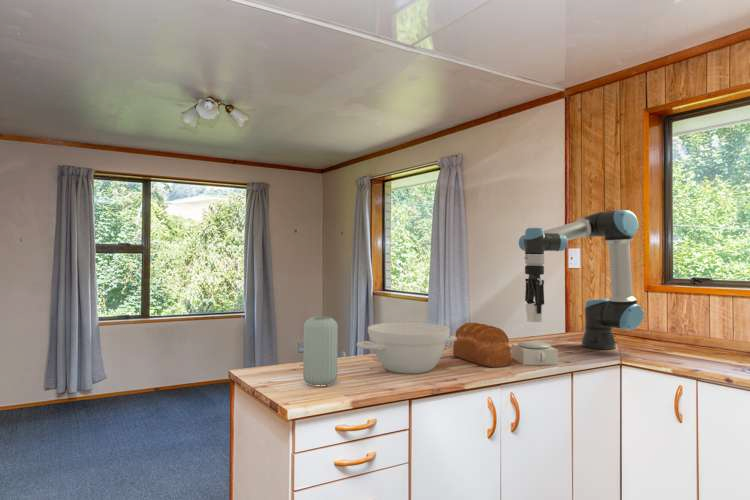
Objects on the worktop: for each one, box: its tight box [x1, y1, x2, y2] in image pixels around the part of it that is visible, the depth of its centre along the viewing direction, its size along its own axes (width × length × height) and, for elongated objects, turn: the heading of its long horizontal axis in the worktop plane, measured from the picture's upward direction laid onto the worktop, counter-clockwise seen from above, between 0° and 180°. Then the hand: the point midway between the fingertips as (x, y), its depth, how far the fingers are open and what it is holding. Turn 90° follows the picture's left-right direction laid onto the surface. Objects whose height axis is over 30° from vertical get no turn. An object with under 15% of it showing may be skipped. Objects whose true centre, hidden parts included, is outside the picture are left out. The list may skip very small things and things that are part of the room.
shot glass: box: [525, 303, 544, 323], centre depth 205 cm, size 7×7×7 cm
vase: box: [302, 316, 339, 386], centre depth 167 cm, size 12×12×22 cm
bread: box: [452, 322, 512, 368], centre depth 206 cm, size 14×26×16 cm, turn 25°
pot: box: [356, 321, 457, 375], centre depth 190 cm, size 44×32×16 cm
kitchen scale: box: [511, 340, 559, 366], centre depth 205 cm, size 15×14×7 cm
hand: (534, 320), depth 205 cm, fingers closed on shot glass, 7 cm apart
